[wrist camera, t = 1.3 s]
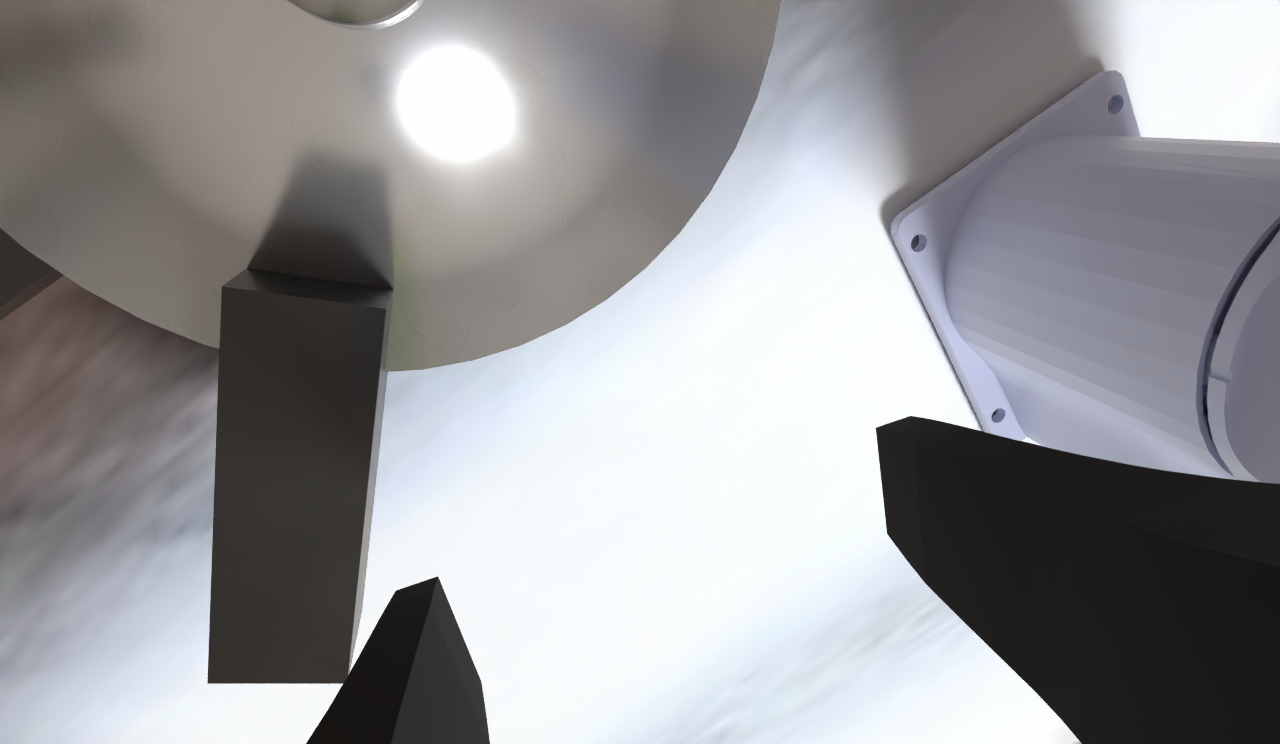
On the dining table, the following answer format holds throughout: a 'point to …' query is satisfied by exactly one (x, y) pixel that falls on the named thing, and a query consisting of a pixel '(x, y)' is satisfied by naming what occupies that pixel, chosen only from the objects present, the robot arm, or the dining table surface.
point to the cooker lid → (353, 223)
